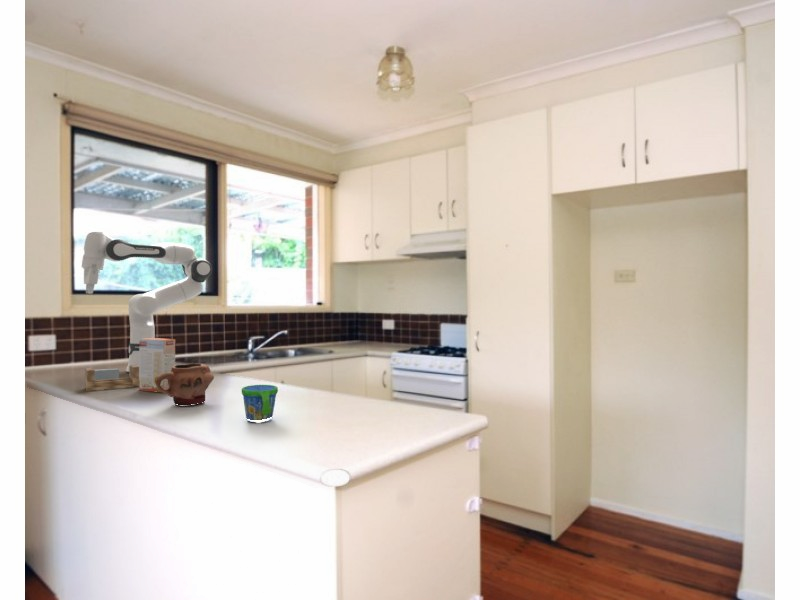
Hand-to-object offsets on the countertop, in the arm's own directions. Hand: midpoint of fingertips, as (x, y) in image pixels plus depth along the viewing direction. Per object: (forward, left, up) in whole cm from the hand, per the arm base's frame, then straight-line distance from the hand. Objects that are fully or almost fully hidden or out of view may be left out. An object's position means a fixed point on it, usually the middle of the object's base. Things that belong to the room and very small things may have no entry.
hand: (89, 293), depth 231 cm
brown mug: (-19, +96, -39) cm, 105 cm away
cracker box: (-17, +62, -39) cm, 75 cm away
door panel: (-3, +31, -39) cm, 50 cm away
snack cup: (-31, +132, -39) cm, 141 cm away
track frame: (-4, +44, -39) cm, 59 cm away
